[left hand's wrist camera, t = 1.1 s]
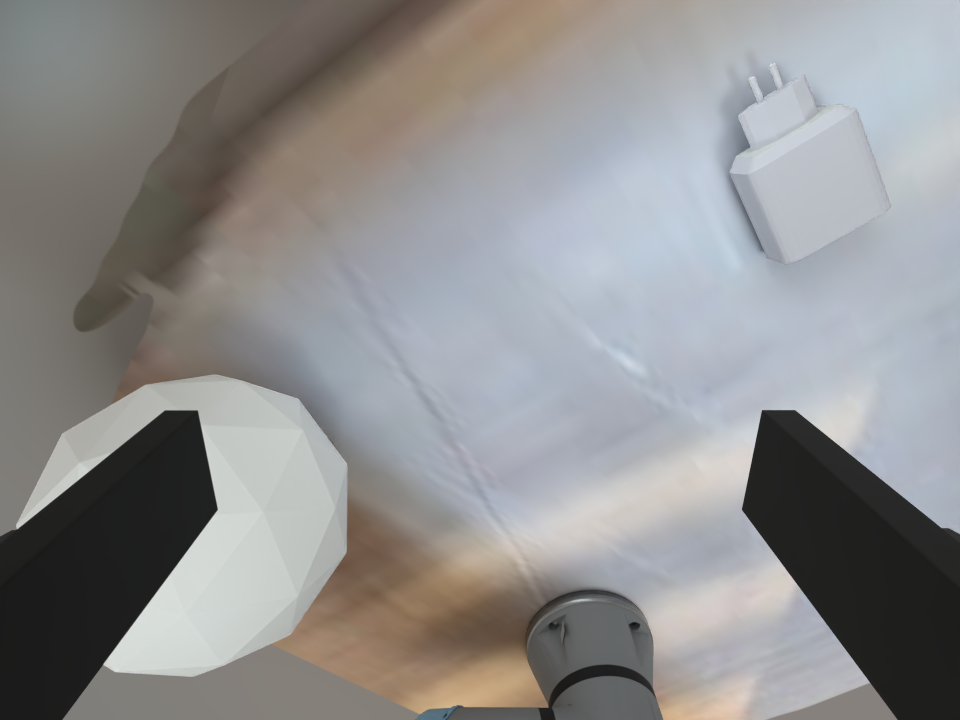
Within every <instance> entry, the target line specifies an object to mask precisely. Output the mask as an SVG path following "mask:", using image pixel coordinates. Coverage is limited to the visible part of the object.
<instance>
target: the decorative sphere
mask: <svg viewBox="0 0 960 720" xmlns="http://www.w3.org/2000/svg"><path fill="white" fill-rule="evenodd" d="M165 410H198V413H199V418H200V423H201V428H202V433H203V438H204V443H205V448H206V453H207V458H208V463H209V468H210V473H211V478H212V483H213V487H214V492H215V497H216V502H217V507H218V510H217V512H216V513H215V514H214V516H213V517H212V519H211V520H210V521H209V523H208V524H207V525H206V527H205V528H204V529H203V531H202V532H201V533H200V535H199V536H198V537H197V539H196V540H195V541H194V543H193V544H192V545H191V547H190V548H189V550H188V551H187V552H186V554H185V555H184V556H183V558H182V559H181V560H180V562H179V563H178V564H177V566H176V567H175V568H174V570H173V571H172V572H171V574H170V575H169V576H168V578H167V579H166V581H165V582H164V583H163V585H162V586H161V587H160V589H159V590H158V591H157V593H156V594H155V595H154V597H153V598H152V599H151V601H150V602H149V603H148V605H147V606H146V608H145V609H144V610H143V612H142V613H141V614H140V616H139V617H138V618H137V620H136V621H135V622H134V624H133V625H132V626H131V628H130V629H129V630H128V632H127V633H126V634H125V636H124V637H123V639H122V640H121V641H120V643H119V644H118V645H117V647H116V648H115V649H114V651H113V652H112V653H111V655H110V656H109V657H108V659H107V660H106V661H105V663H104V664H103V665H105V666H107V667H108V668H110V669H111V670H113V671H114V672H123V673H140V674H156V675H173V676H190V677H194V676H197V675H199V674H202V673H204V672H207V671H210V670H213V669H215V668H218V667H220V666H223V665H225V664H227V663H230V662H232V661H234V660H236V659H238V658H241V657H243V656H245V655H247V654H250V653H252V652H254V651H256V650H258V649H260V648H263V647H265V646H267V645H269V644H272V643H274V642H276V641H278V640H280V639H282V638H285V637H287V636H289V635H291V633H292V632H293V630H294V629H295V627H296V626H297V624H298V623H299V622H300V620H301V619H302V617H303V616H304V614H305V613H306V611H307V610H308V608H309V607H310V605H311V604H312V603H313V601H314V600H315V598H316V597H317V595H318V594H319V592H320V591H321V589H322V588H323V586H324V585H325V584H326V582H327V581H328V579H329V578H330V576H331V575H332V573H333V572H334V570H335V569H336V567H337V566H338V565H339V563H340V562H341V560H342V559H343V557H344V556H345V554H346V553H347V463H346V462H345V461H344V459H343V458H342V457H341V455H340V454H339V453H338V451H337V450H336V449H335V447H334V446H333V445H332V443H331V442H330V441H329V439H328V438H327V436H326V435H325V434H324V432H323V431H322V430H321V428H320V427H319V426H318V424H317V423H316V422H315V420H314V419H313V418H312V416H311V415H310V414H309V412H308V411H307V410H306V408H305V407H304V406H303V404H302V403H301V402H300V400H299V399H298V398H295V397H291V396H288V395H285V394H282V393H279V392H276V391H273V390H270V389H266V388H263V387H260V386H257V385H254V384H251V383H248V382H245V381H241V380H237V379H233V378H229V377H225V376H221V375H216V374H214V375H207V376H201V377H194V378H187V379H180V380H174V381H167V382H160V383H153V384H147V385H144V386H143V387H141V388H139V389H137V390H136V391H134V392H132V393H131V394H129V395H127V396H126V397H124V398H122V399H120V400H119V401H117V402H115V403H114V404H112V405H110V406H108V407H107V408H105V409H103V410H102V411H100V412H98V413H97V414H95V415H93V416H91V417H90V418H88V419H86V420H85V421H83V422H81V423H79V424H78V425H76V426H74V427H73V428H71V429H69V430H68V431H66V432H64V433H63V434H62V435H61V437H60V439H59V441H58V443H57V445H56V447H55V449H54V451H53V453H52V455H51V457H50V459H49V461H48V463H47V465H46V467H45V469H44V471H43V473H42V475H41V477H40V479H39V481H38V483H37V485H36V487H35V489H34V491H33V493H32V495H31V497H30V499H29V501H28V503H27V505H26V507H25V509H24V511H23V513H22V515H21V517H20V519H19V521H18V523H17V525H16V527H17V529H18V528H19V527H21V526H22V525H23V524H24V523H26V522H27V521H28V520H29V519H31V518H32V517H33V516H34V515H36V514H37V513H38V512H39V511H41V510H42V509H43V508H44V507H45V506H47V505H48V504H49V503H50V502H52V501H53V500H54V499H55V498H57V497H58V496H59V495H60V494H62V493H63V492H64V491H65V490H67V489H68V488H69V487H70V486H72V485H73V484H74V483H75V482H77V481H78V480H79V479H80V478H81V477H83V476H84V475H85V474H86V473H88V472H89V471H90V470H91V469H93V468H94V467H95V466H96V465H98V464H99V463H100V462H101V461H103V460H104V459H105V458H106V457H108V456H109V455H110V454H111V453H113V452H114V451H115V450H116V449H118V448H119V447H120V446H121V445H122V444H124V443H125V442H126V441H127V440H129V439H130V438H131V437H132V436H134V435H135V434H136V433H137V432H139V431H140V430H141V429H142V428H144V427H145V426H146V425H147V424H149V423H150V422H151V421H152V420H154V419H155V418H156V417H157V416H158V415H160V414H161V413H162V412H163V411H165Z"/></svg>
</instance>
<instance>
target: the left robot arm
mask: <svg viewBox="0 0 960 720" xmlns="http://www.w3.org/2000/svg"><path fill="white" fill-rule="evenodd" d="M217 510H218V507H217V502H216V497H215V492H214V487H213V483H212V478H211V473H210V468H209V463H208V458H207V453H206V448H205V443H204V438H203V433H202V428H201V423H200V418H199V413H198V410H165V411H163V412H162V413H161V414H160V415H158V416H157V417H156V418H155V419H154V420H152V421H151V422H150V423H149V424H147V425H146V426H145V427H144V428H142V429H141V430H140V431H139V432H137V433H136V434H135V435H134V436H132V437H131V438H130V439H129V440H127V441H126V442H125V443H124V444H122V445H121V446H120V447H119V448H118V449H116V450H115V451H114V452H113V453H111V454H110V455H109V456H108V457H106V458H105V459H104V460H103V461H101V462H100V463H99V464H98V465H96V466H95V467H94V468H93V469H91V470H90V471H89V472H88V473H86V474H85V475H84V476H83V477H81V478H80V479H79V480H78V481H77V482H75V483H74V484H73V485H72V486H70V487H69V488H68V489H67V490H65V491H64V492H63V493H62V494H60V495H59V496H58V497H57V498H55V499H54V500H53V501H52V502H50V503H49V504H48V505H47V506H45V507H44V508H43V509H42V510H41V511H39V512H38V513H37V514H36V515H34V516H33V517H32V518H31V519H29V520H28V521H27V522H26V523H24V524H23V525H22V526H21V527H19V528H18V529H17V530H12V531H10V532H8V533H6V534H4V535H2V536H0V720H62V719H63V718H64V717H65V715H66V714H67V713H68V711H69V710H70V709H71V707H72V706H73V705H74V703H75V702H76V701H77V699H78V698H79V696H80V695H81V694H82V692H83V691H84V690H85V688H86V687H87V686H88V684H89V683H90V682H91V680H92V679H93V678H94V676H95V675H96V674H97V672H98V671H99V670H100V668H101V667H102V665H103V664H104V663H105V661H106V660H107V659H108V657H109V656H110V655H111V653H112V652H113V651H114V649H115V648H116V647H117V645H118V644H119V643H120V641H121V640H122V639H123V637H124V636H125V634H126V633H127V632H128V630H129V629H130V628H131V626H132V625H133V624H134V622H135V621H136V620H137V618H138V617H139V616H140V614H141V613H142V612H143V610H144V609H145V608H146V606H147V605H148V603H149V602H150V601H151V599H152V598H153V597H154V595H155V594H156V593H157V591H158V590H159V589H160V587H161V586H162V585H163V583H164V582H165V581H166V579H167V578H168V576H169V575H170V574H171V572H172V571H173V570H174V568H175V567H176V566H177V564H178V563H179V562H180V560H181V559H182V558H183V556H184V555H185V554H186V552H187V551H188V550H189V548H190V547H191V545H192V544H193V543H194V541H195V540H196V539H197V537H198V536H199V535H200V533H201V532H202V531H203V529H204V528H205V527H206V525H207V524H208V523H209V521H210V520H211V519H212V517H213V516H214V514H215V513H216V512H217ZM742 510H743V512H744V513H745V514H746V516H747V517H748V519H749V520H750V521H751V523H752V524H753V525H754V527H755V528H756V529H757V531H758V532H759V533H760V535H761V536H762V537H763V539H764V540H765V541H766V543H767V544H768V545H769V547H770V548H771V550H772V551H773V552H774V554H775V555H776V556H777V558H778V559H779V560H780V562H781V563H782V564H783V566H784V567H785V568H786V570H787V571H788V572H789V574H790V575H791V576H792V578H793V579H794V581H795V582H796V583H797V585H798V586H799V587H800V589H801V590H802V591H803V593H804V594H805V595H806V597H807V598H808V599H809V601H810V602H811V603H812V605H813V606H814V608H815V609H816V610H817V612H818V613H819V614H820V616H821V617H822V618H823V620H824V621H825V622H826V624H827V625H828V626H829V628H830V629H831V630H832V632H833V633H834V634H835V636H836V637H837V639H838V640H839V641H840V643H841V644H842V645H843V647H844V648H845V649H846V651H847V652H848V653H849V655H850V656H851V657H852V659H853V660H854V661H855V663H856V664H857V665H858V667H859V668H860V670H861V671H862V672H863V674H864V675H865V676H866V678H867V679H868V680H869V682H870V683H871V684H872V686H873V687H874V688H875V690H876V691H877V692H878V694H879V695H880V696H881V698H882V699H883V701H884V702H885V703H886V705H887V706H888V707H889V709H890V710H891V711H892V713H893V714H894V715H895V717H896V718H897V719H898V720H960V534H958V533H956V532H955V531H953V530H951V529H949V528H941V527H939V526H938V525H937V524H936V523H934V522H933V521H932V520H931V519H929V518H928V517H927V516H926V515H924V514H923V513H922V512H921V511H919V510H918V509H917V508H916V507H915V506H913V505H912V504H911V503H910V502H908V501H907V500H906V499H905V498H903V497H902V496H901V495H900V494H898V493H897V492H896V491H895V490H893V489H892V488H891V487H890V486H888V485H887V484H886V483H885V482H883V481H882V480H881V479H880V478H879V477H877V476H876V475H875V474H874V473H872V472H871V471H870V470H869V469H867V468H866V467H865V466H864V465H862V464H861V463H860V462H859V461H857V460H856V459H855V458H854V457H852V456H851V455H850V454H849V453H847V452H846V451H845V450H844V449H842V448H841V447H840V446H839V445H838V444H836V443H835V442H834V441H833V440H831V439H830V438H829V437H828V436H826V435H825V434H824V433H823V432H821V431H820V430H819V429H818V428H816V427H815V426H814V425H813V424H811V423H810V422H809V421H808V420H806V419H805V418H804V417H803V416H802V415H800V414H799V413H798V412H797V411H795V410H762V413H761V418H760V423H759V428H758V433H757V438H756V443H755V448H754V453H753V458H752V463H751V468H750V473H749V478H748V482H747V487H746V492H745V497H744V502H743V507H742ZM526 649H527V658H528V662H529V665H530V667H531V670H532V672H533V674H534V676H535V678H536V680H537V682H538V684H539V686H540V688H541V691H542V693H543V695H544V697H545V699H546V701H547V703H548V706H549V708H497V707H463V706H460V705H457V706H453V707H452V708H442V709H429V710H427V711H425V712H423V713H422V714H420V715H419V716H418V717H417V718H416V720H663V717H662V714H661V711H660V708H659V705H658V702H657V700H656V697H655V694H654V691H653V638H652V635H651V632H650V629H649V626H648V623H647V621H646V618H645V616H644V615H643V613H642V612H641V611H640V610H639V608H637V607H636V606H635V605H634V604H633V603H632V602H630V601H628V600H627V599H625V598H623V597H621V596H618V595H616V594H612V593H608V592H602V591H581V592H575V593H571V594H567V595H565V596H562V597H559V598H557V599H555V600H553V601H552V602H550V603H548V604H547V605H546V606H544V607H543V608H542V609H541V610H540V611H539V612H538V613H537V614H536V615H535V616H534V618H533V619H532V621H531V623H530V625H529V627H528V630H527V634H526Z"/></svg>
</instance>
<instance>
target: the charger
mask: <svg viewBox="0 0 960 720" xmlns="http://www.w3.org/2000/svg"><path fill="white" fill-rule="evenodd" d="M769 70H770V72H771V75H772V77H773V80H774V82H775V85H776V88H777V89H776V90H775V91H773V92H771V93H770V94H768V95H767V96H765V97H763V95H762V93H761V90H760V88H759V85H758V83H757V80H756V78H755V76H752V77H750V78H749V80H748V81H749V83H750V86H751V88H752V91H753V93H754V95H755V98H756V100H757V102H755V103H754V104H752V105H751V106H749V107H748V108H747V109H745V110H744V111H743V112H742V113H740V114H739V116H738V118H739V121H740V123H741V125H742V128H743V130H744V133H745V135H746V137H747V140H748V142H749V144H750V148H748V149H746V150H745V151H743V152H742V153H740V154H739V155H737V156H736V157H735V160H734V162H733V165H732V167H731V170H730V172H729V173H730V176H731V178H732V180H733V182H734V185H735V187H736V189H737V191H738V194H739V196H740V198H741V200H742V203H743V205H744V207H745V209H746V212H747V214H748V216H749V218H750V220H751V223H752V225H753V227H754V229H755V232H756V234H757V236H758V238H759V241H760V243H761V245H762V247H763V250H764V252H765V254H766V256H767V258H769V259H772V260H775V261H777V262H780V263H783V264H790V263H793V262H796V261H798V260H800V259H803V258H805V257H807V256H808V255H810V254H812V253H814V252H816V251H817V250H819V249H821V248H823V247H825V246H826V245H828V244H830V243H832V242H834V241H835V240H837V239H839V238H841V237H843V236H844V235H846V234H848V233H850V232H851V231H853V230H855V229H857V228H859V227H860V226H862V225H864V224H866V223H868V222H869V221H871V220H873V219H875V218H876V217H878V216H880V215H881V214H883V213H884V212H886V211H887V210H888V209H889V208H890V207H891V204H890V202H889V199H888V196H887V193H886V190H885V187H884V185H883V182H882V179H881V176H880V173H879V170H878V168H877V165H876V162H875V159H874V156H873V153H872V151H871V148H870V145H869V142H868V139H867V136H866V134H865V131H864V128H863V125H862V122H861V119H860V117H859V114H858V111H857V108H853V107H849V106H845V105H841V104H837V105H830V106H824V107H817V106H816V103H815V101H814V98H813V95H812V93H811V90H810V87H809V85H808V82H807V80H806V77H805V75H803V76H801V77H799V78H796V79H795V80H793V81H791V82H789V83H787V84H785V85H784V84H783V82H782V79H781V77H780V74H779V71H778V69H777V66H776V64H775V63H772V64H770V65H769Z"/></svg>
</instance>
